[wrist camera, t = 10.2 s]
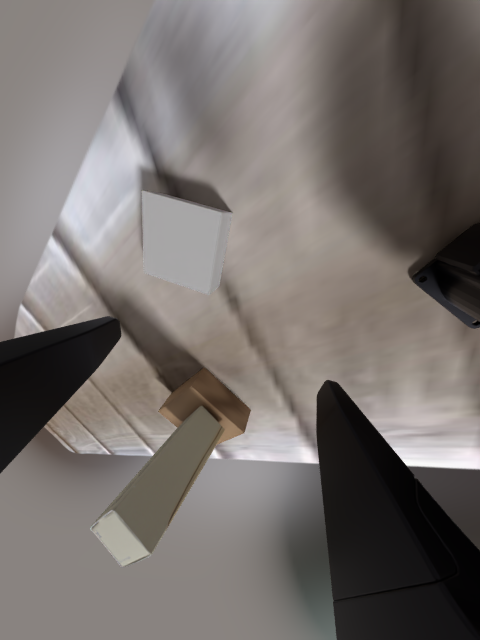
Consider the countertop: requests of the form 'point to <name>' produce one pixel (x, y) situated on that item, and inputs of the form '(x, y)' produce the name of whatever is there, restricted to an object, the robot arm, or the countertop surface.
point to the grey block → (184, 241)
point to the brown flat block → (207, 404)
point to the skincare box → (157, 491)
